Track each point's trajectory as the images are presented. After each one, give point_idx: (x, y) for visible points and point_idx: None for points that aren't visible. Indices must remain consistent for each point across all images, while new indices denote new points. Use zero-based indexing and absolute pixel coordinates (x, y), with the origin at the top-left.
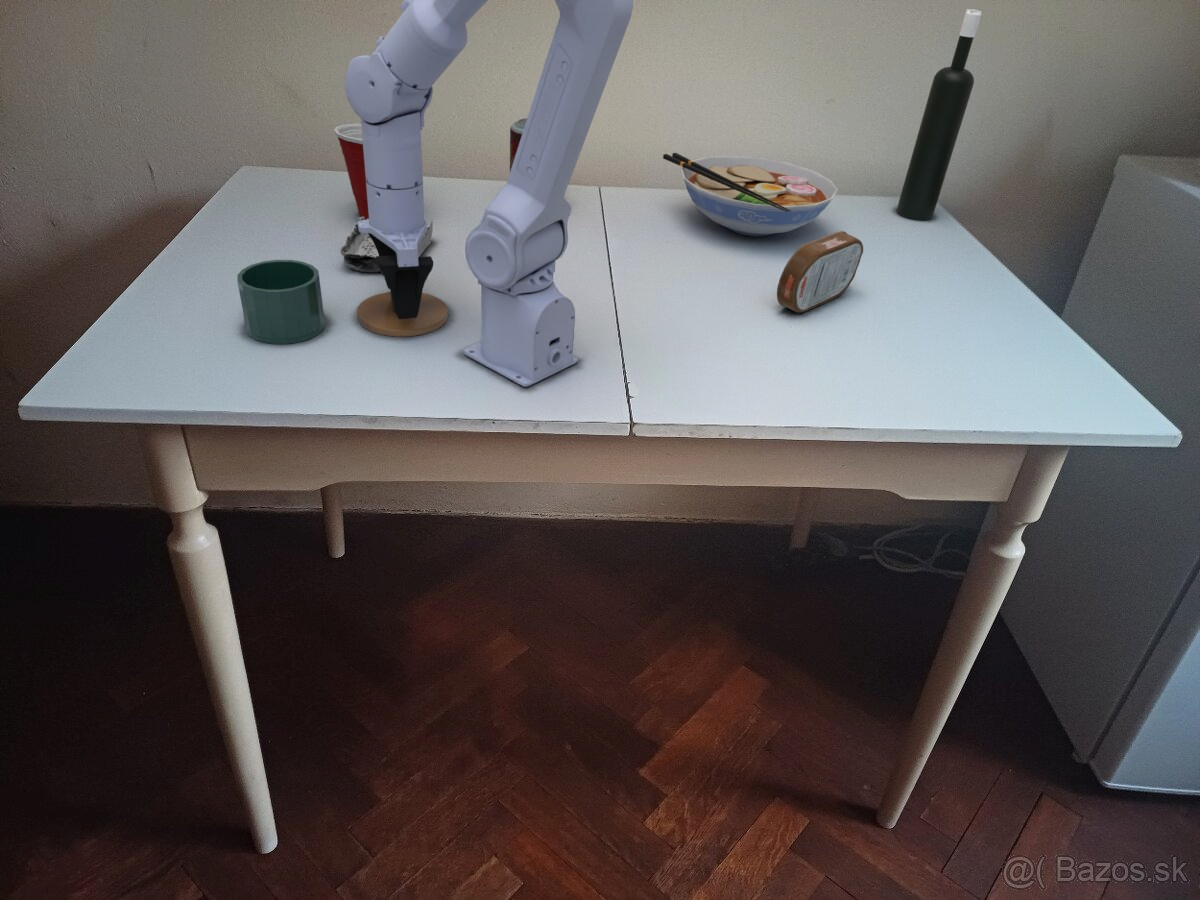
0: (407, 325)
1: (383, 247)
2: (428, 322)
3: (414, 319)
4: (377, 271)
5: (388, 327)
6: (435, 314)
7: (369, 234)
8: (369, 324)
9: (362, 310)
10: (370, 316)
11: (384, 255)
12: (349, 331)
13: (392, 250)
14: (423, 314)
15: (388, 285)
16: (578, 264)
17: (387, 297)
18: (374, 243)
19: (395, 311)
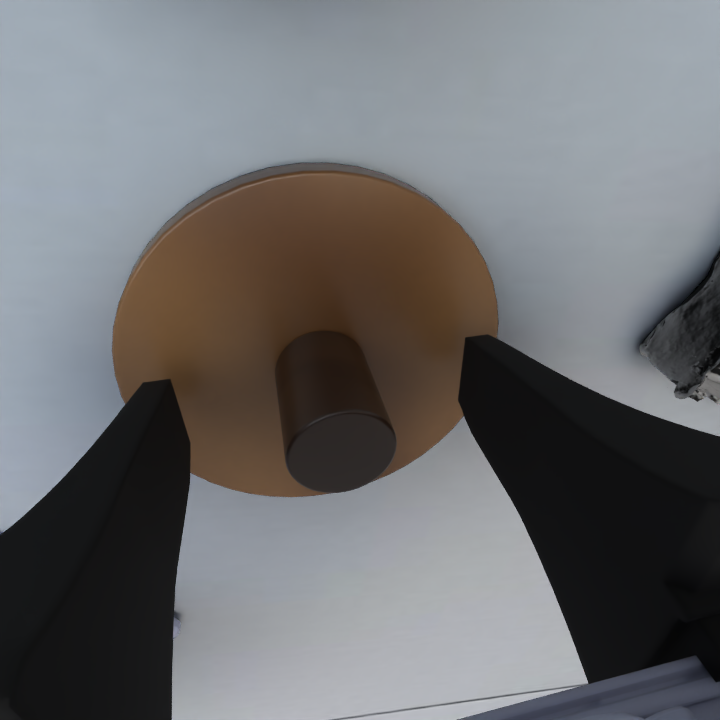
0: None
1: (591, 482)
2: (195, 453)
3: (225, 409)
4: (716, 264)
5: (137, 318)
6: (266, 469)
7: (700, 502)
8: (169, 232)
9: (332, 201)
10: (261, 238)
11: (561, 443)
12: (164, 111)
13: (567, 499)
14: (269, 435)
15: (473, 346)
16: (526, 663)
17: (446, 311)
18: (629, 466)
19: (129, 400)
